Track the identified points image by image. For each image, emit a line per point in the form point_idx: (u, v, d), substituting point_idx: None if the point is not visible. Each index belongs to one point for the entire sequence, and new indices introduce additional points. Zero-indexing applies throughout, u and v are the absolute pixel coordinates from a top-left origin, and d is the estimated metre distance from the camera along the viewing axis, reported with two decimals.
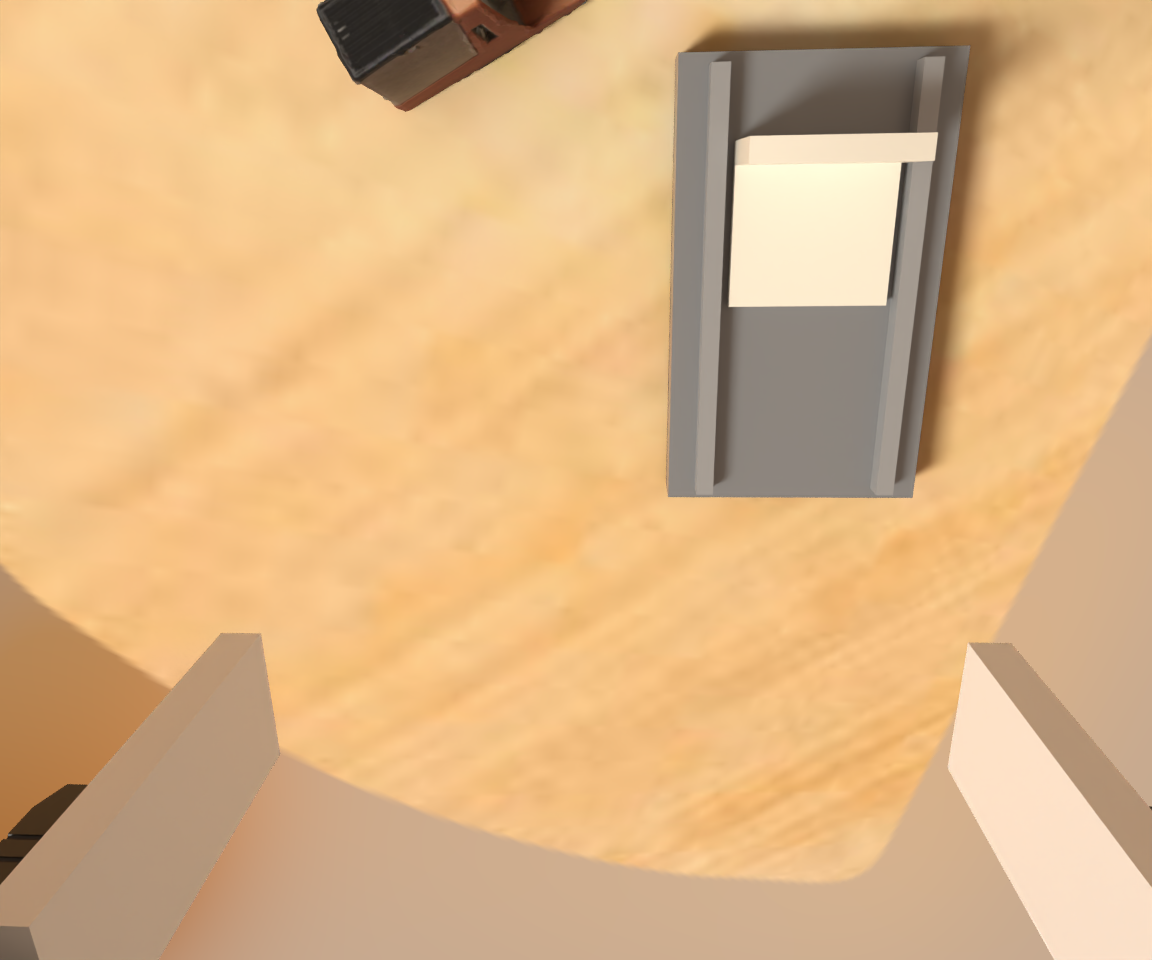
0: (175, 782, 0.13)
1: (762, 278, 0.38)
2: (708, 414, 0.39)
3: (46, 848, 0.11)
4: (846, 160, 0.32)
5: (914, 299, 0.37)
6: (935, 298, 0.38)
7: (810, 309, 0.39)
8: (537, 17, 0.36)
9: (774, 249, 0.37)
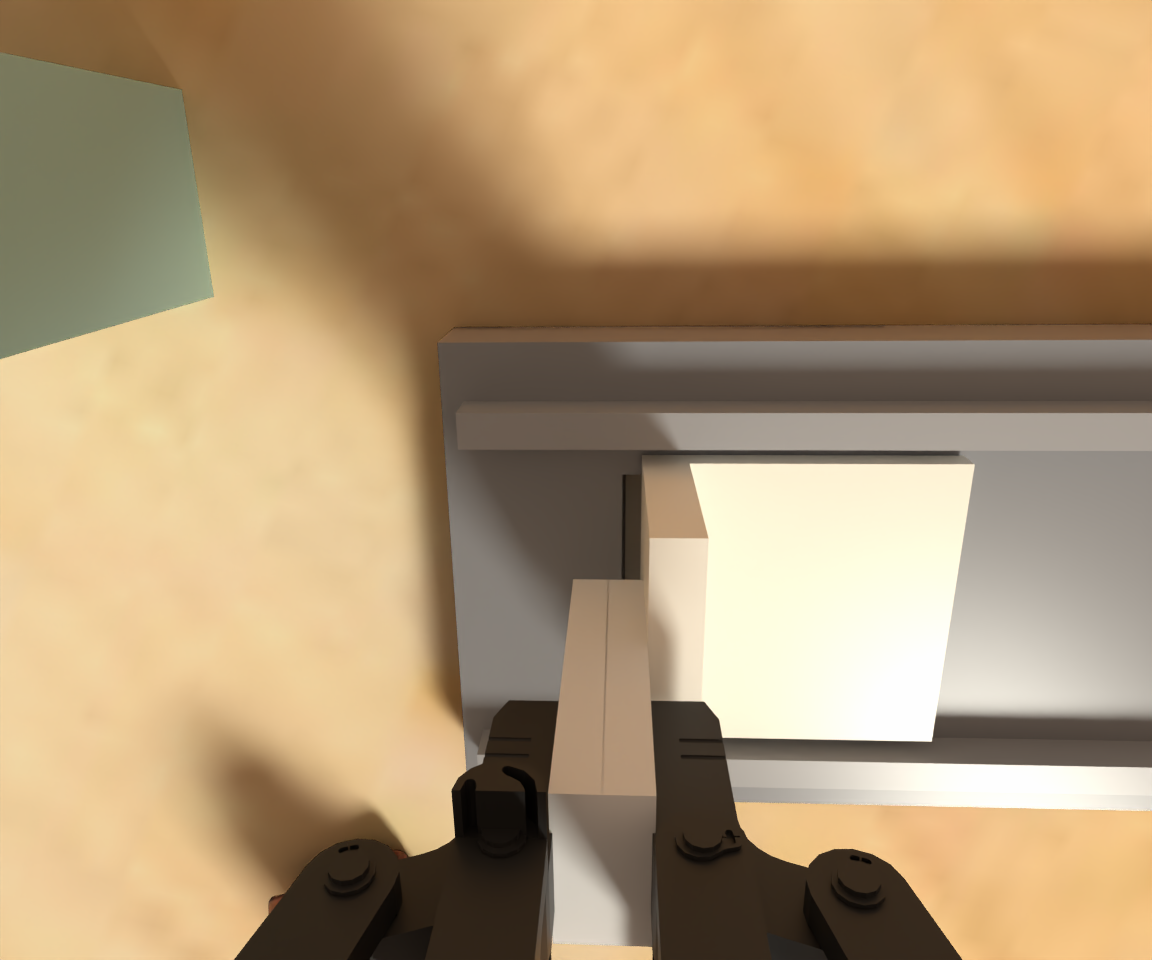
0: None
1: (885, 689, 0.20)
2: (1105, 779, 0.20)
3: (566, 740, 0.12)
4: None
5: (927, 416, 0.17)
6: (923, 346, 0.18)
7: None
8: None
9: (832, 671, 0.20)
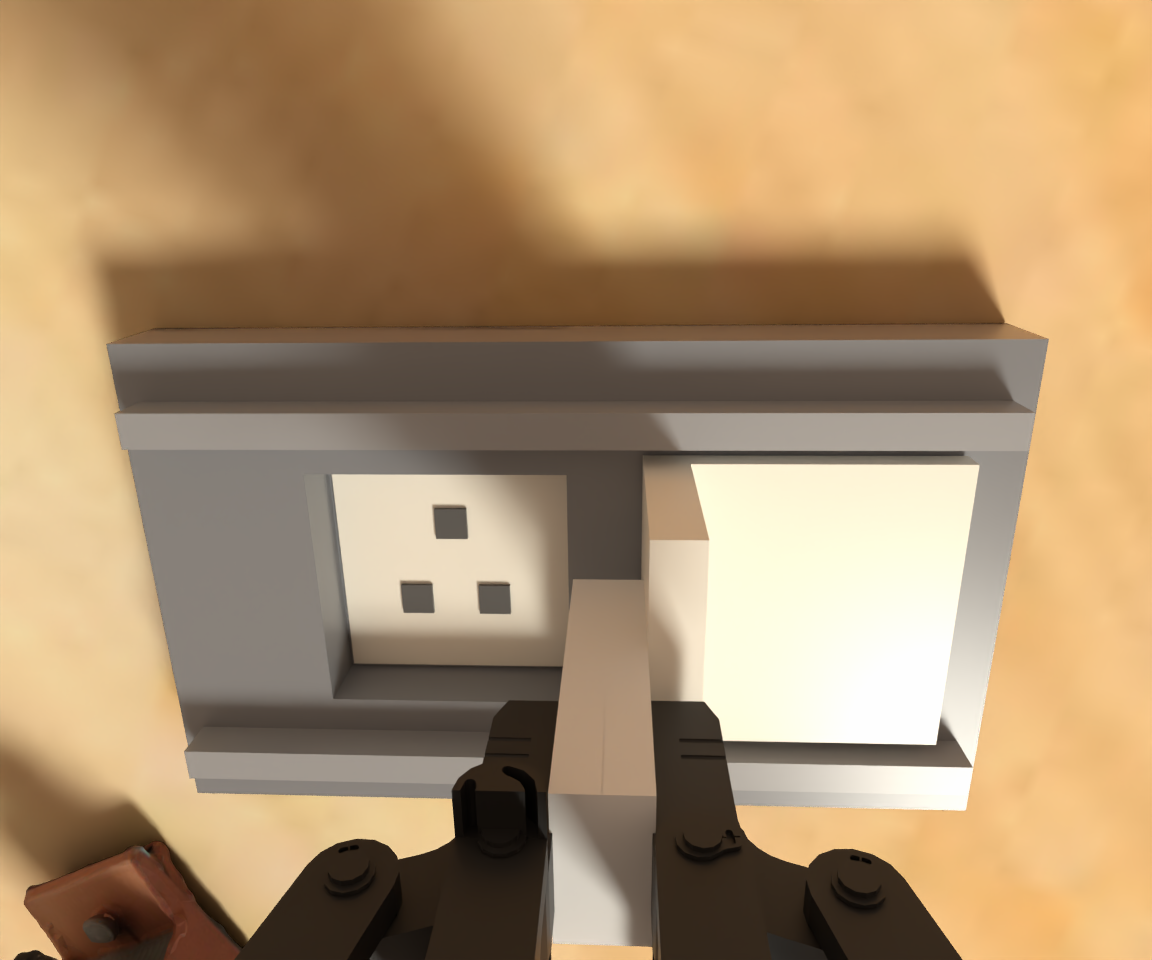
0: None
1: (889, 692, 0.19)
2: (797, 776, 0.20)
3: (566, 740, 0.12)
4: None
5: (572, 416, 0.17)
6: (578, 347, 0.18)
7: None
8: (165, 913, 0.25)
9: (835, 673, 0.19)
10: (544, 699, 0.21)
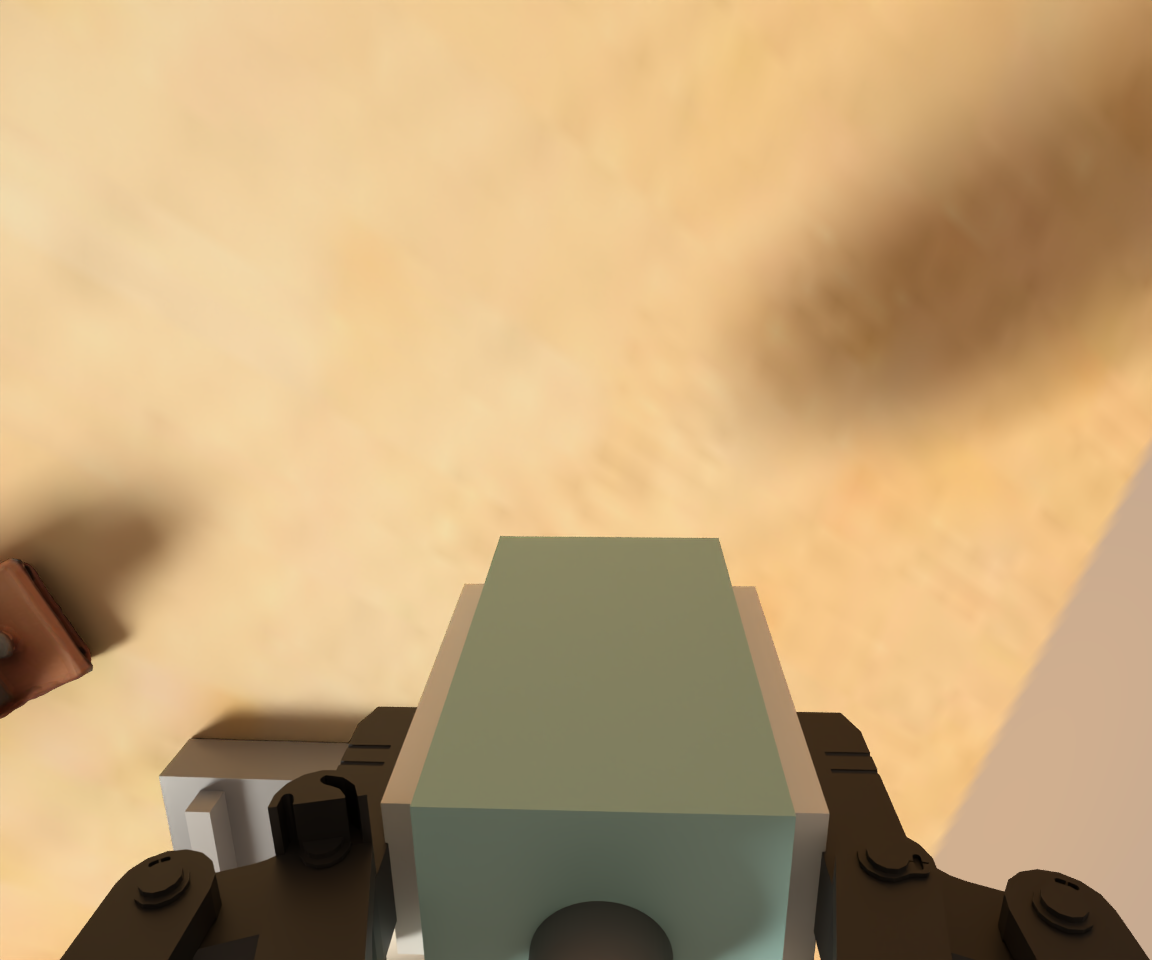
0: None
1: None
2: None
3: (413, 748, 0.12)
4: None
5: None
6: None
7: None
8: (25, 689, 0.27)
9: None
10: None
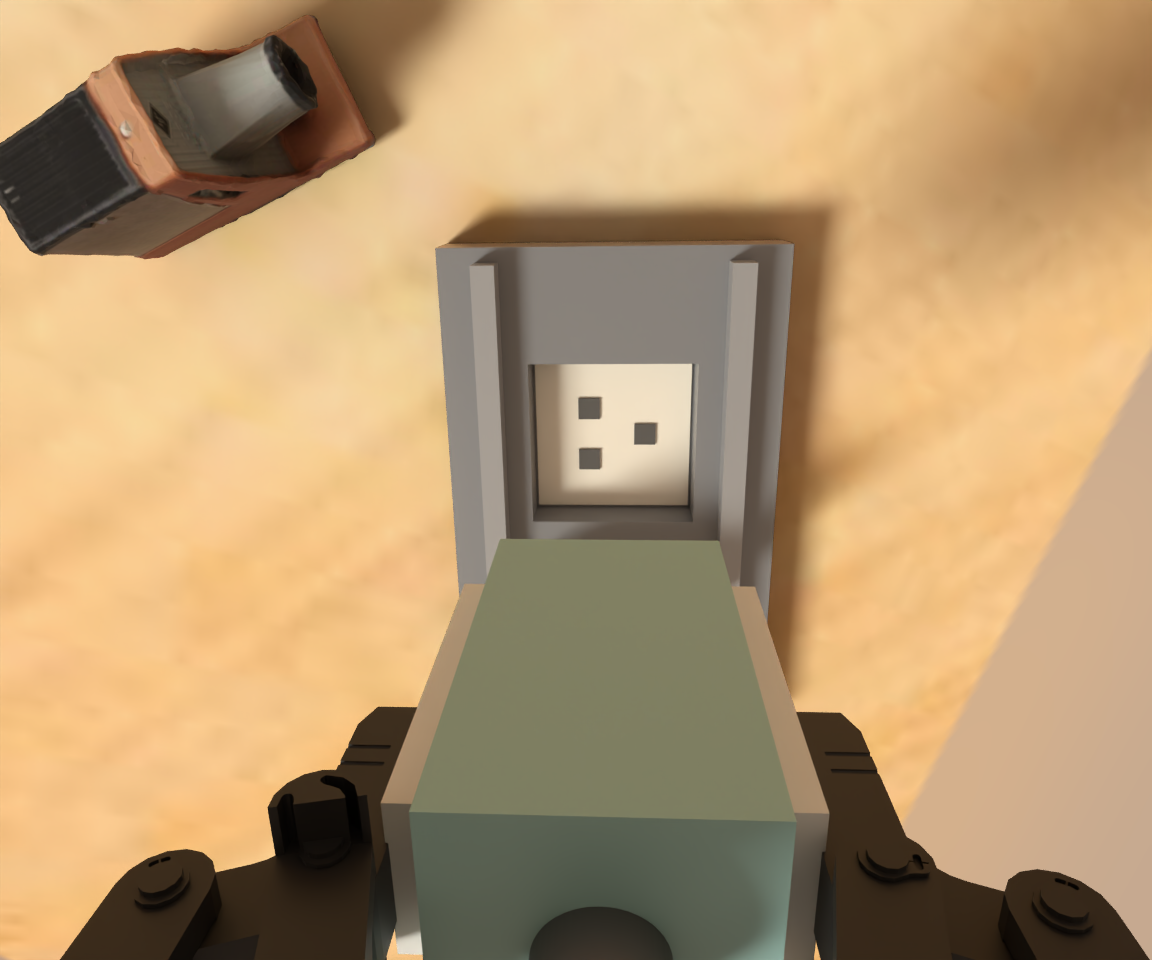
0: None
1: None
2: None
3: (413, 748, 0.12)
4: None
5: (740, 538, 0.30)
6: (770, 530, 0.31)
7: None
8: (310, 161, 0.28)
9: None
10: (532, 503, 0.32)
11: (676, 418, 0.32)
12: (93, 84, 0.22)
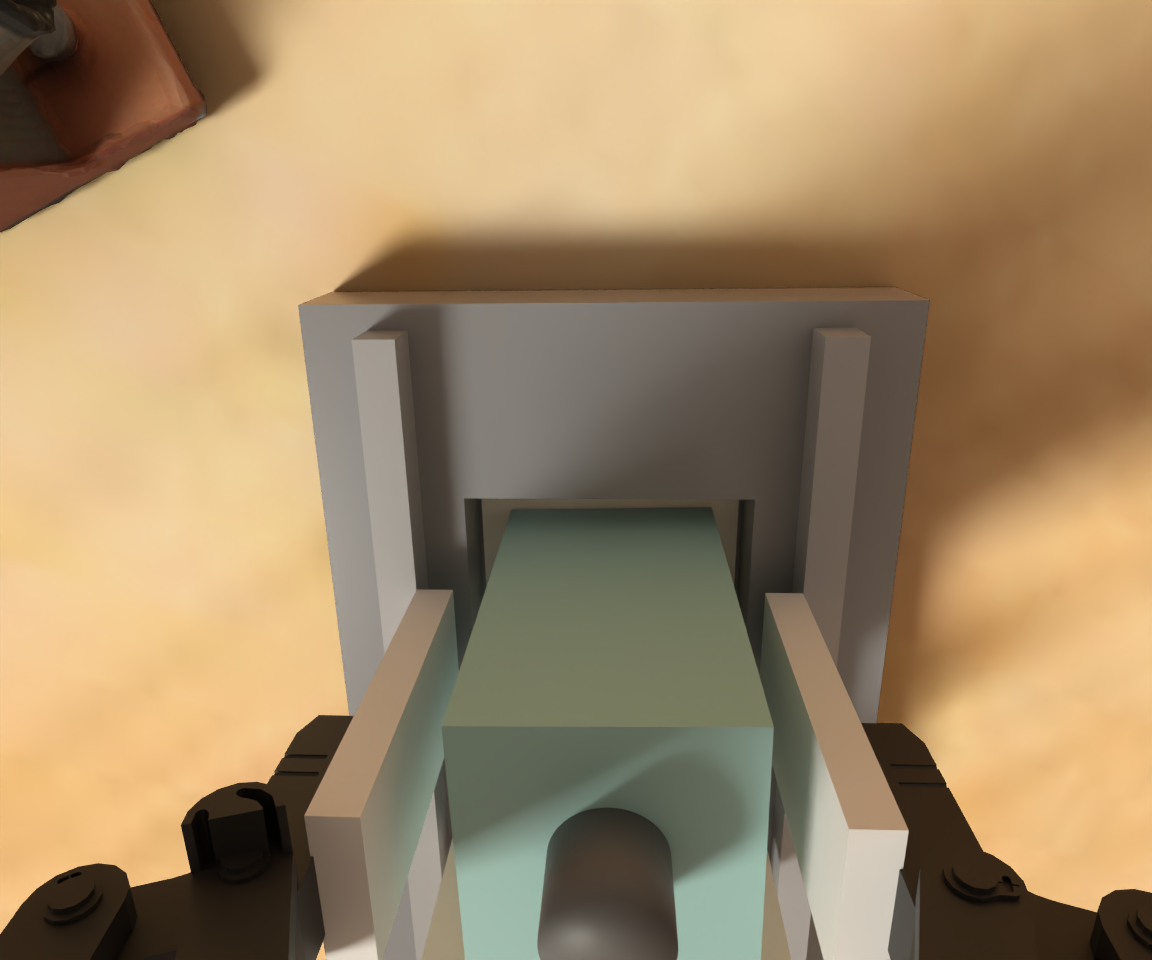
0: (417, 713, 0.14)
1: None
2: None
3: (344, 759, 0.12)
4: None
5: None
6: None
7: None
8: (92, 141, 0.16)
9: None
10: None
11: None
12: None
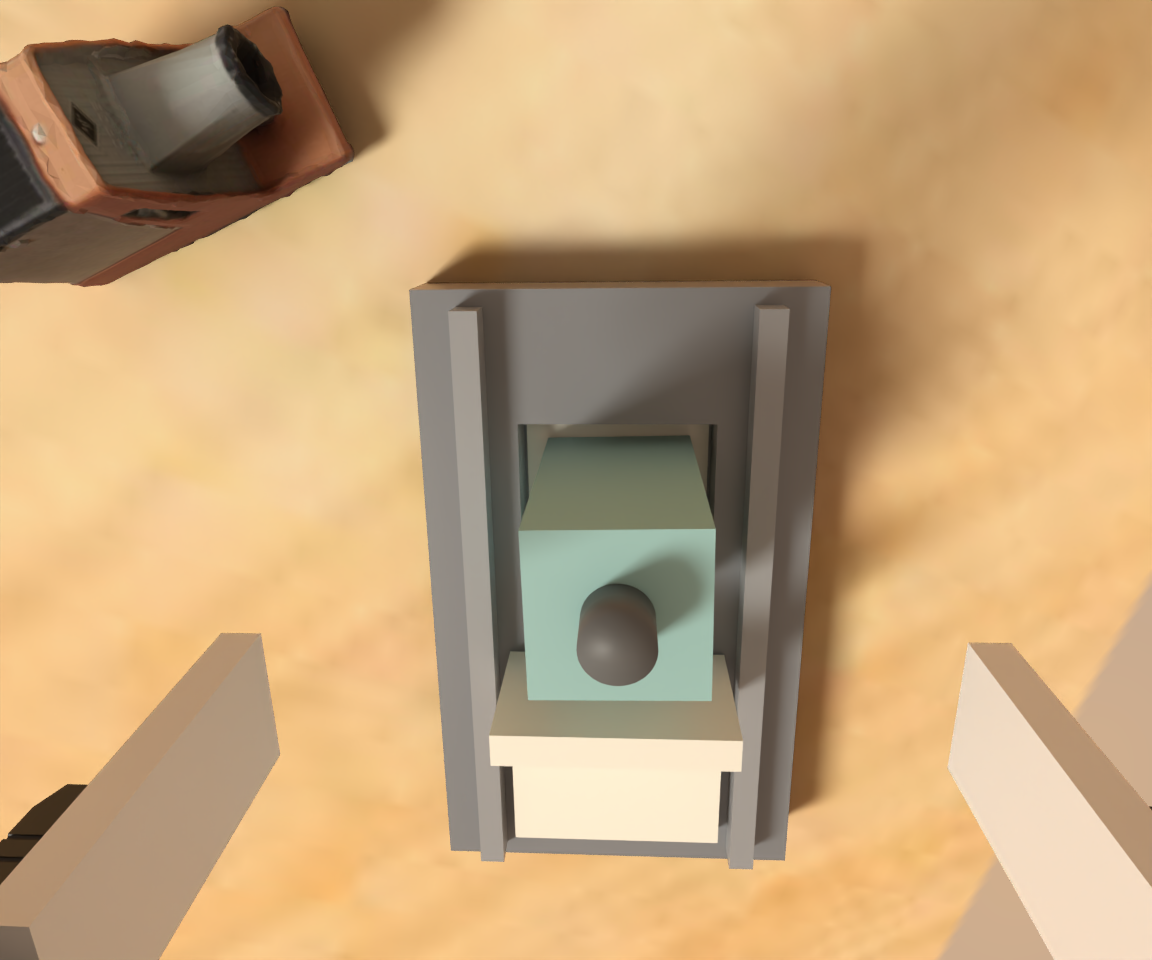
0: (175, 782, 0.13)
1: (555, 808, 0.29)
2: (488, 763, 0.28)
3: (46, 848, 0.11)
4: (621, 767, 0.23)
5: (766, 627, 0.26)
6: (800, 616, 0.27)
7: None
8: (277, 177, 0.24)
9: (568, 778, 0.28)
10: None
11: None
12: None
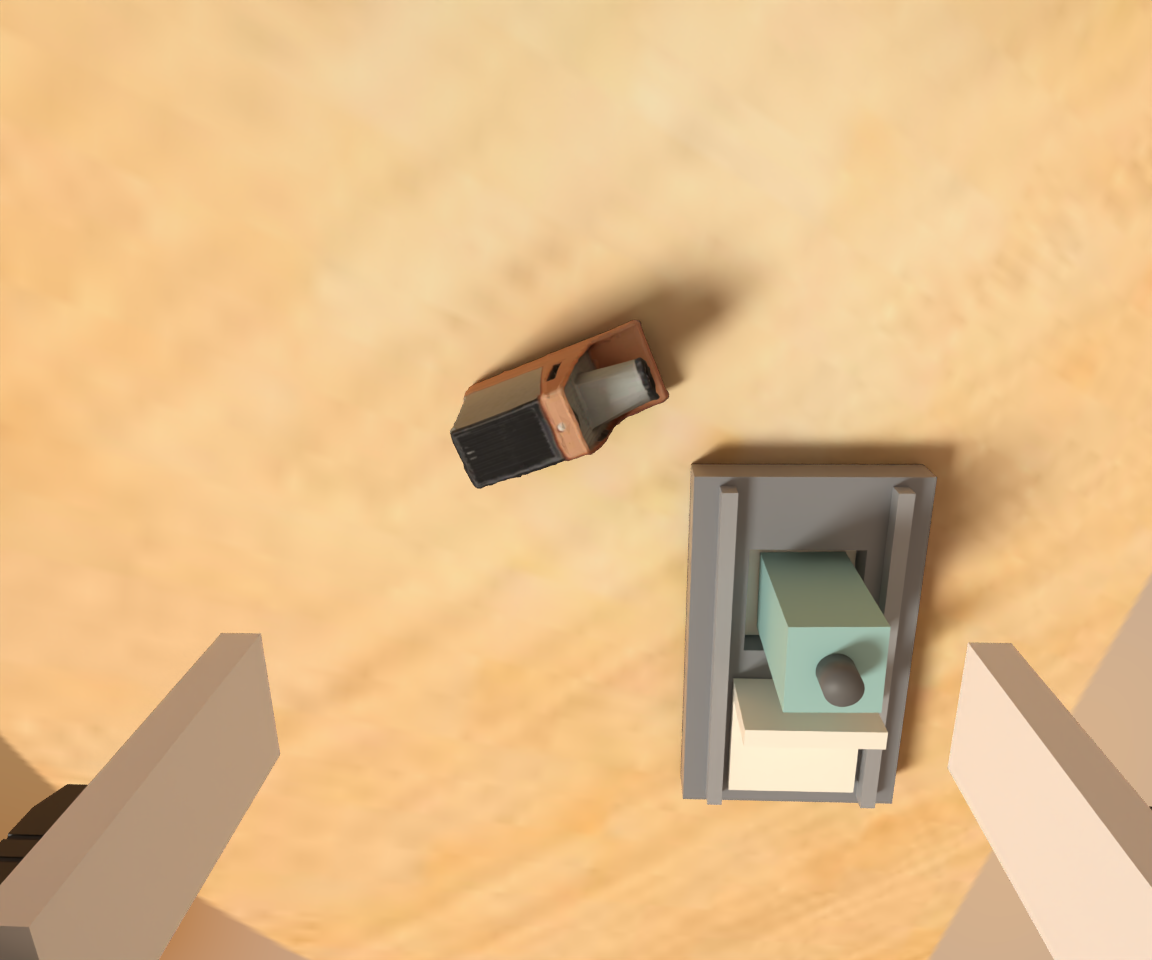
0: (175, 781, 0.13)
1: (755, 772, 0.47)
2: (718, 745, 0.47)
3: (46, 848, 0.11)
4: (818, 747, 0.42)
5: (891, 665, 0.44)
6: (909, 657, 0.45)
7: None
8: None
9: (764, 753, 0.47)
10: (744, 638, 0.45)
11: None
12: (545, 401, 0.36)
